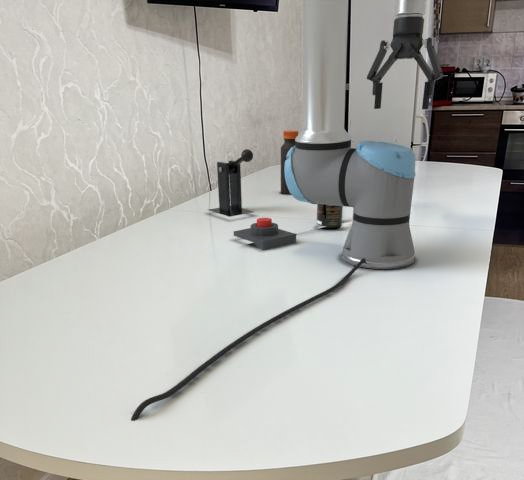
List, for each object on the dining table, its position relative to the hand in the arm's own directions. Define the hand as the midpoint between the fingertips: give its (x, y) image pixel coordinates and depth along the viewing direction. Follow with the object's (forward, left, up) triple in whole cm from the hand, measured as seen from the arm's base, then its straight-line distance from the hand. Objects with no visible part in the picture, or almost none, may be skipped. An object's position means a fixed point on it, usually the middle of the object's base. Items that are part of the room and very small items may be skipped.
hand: (400, 109), depth 143 cm
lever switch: (-28, +38, -27) cm, 55 cm away
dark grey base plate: (-47, +13, -27) cm, 56 cm away
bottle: (+10, +41, -28) cm, 51 cm away
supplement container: (-27, +6, -28) cm, 39 cm away
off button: (-47, +13, -24) cm, 55 cm away
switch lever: (-30, +33, -14) cm, 47 cm away
